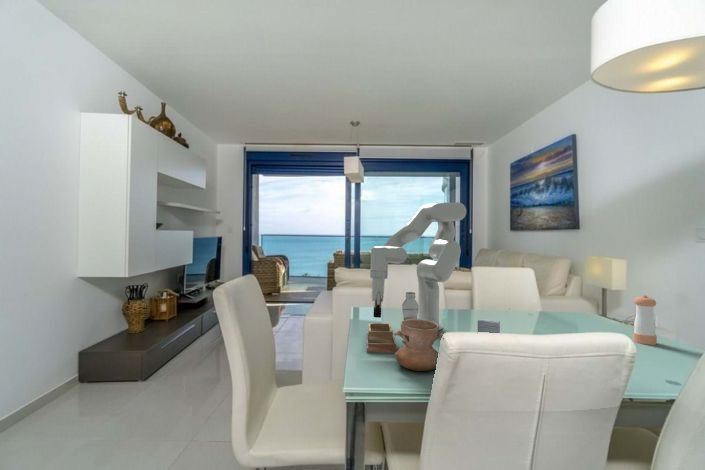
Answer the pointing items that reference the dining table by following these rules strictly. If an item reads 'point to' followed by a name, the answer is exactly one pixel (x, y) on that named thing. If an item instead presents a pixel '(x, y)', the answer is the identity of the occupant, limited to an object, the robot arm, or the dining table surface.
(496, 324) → the medicine box
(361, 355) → the dining table surface
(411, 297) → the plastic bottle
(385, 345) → the wooden tray
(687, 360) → the dining table surface
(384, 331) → the box
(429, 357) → the ceramic jug
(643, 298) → the pepper shaker
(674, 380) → the dining table surface
